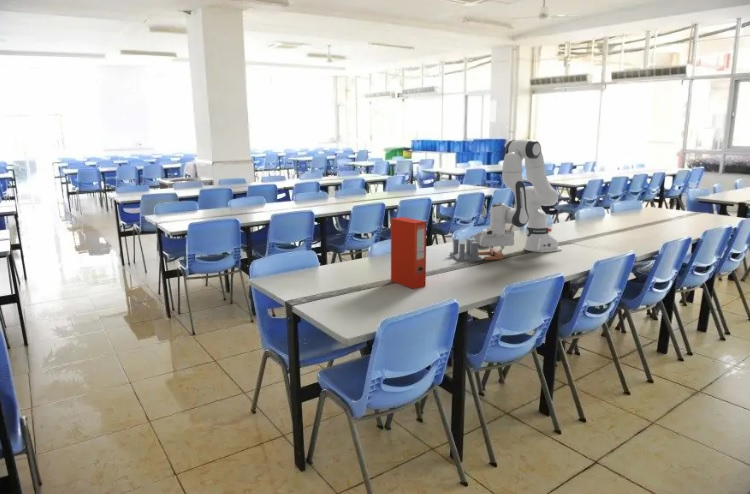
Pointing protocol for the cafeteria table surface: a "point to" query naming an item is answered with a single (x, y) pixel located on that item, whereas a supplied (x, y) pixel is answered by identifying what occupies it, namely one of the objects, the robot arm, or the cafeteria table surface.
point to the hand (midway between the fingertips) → (496, 253)
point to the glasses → (497, 254)
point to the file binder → (408, 252)
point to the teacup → (477, 237)
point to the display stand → (470, 252)
